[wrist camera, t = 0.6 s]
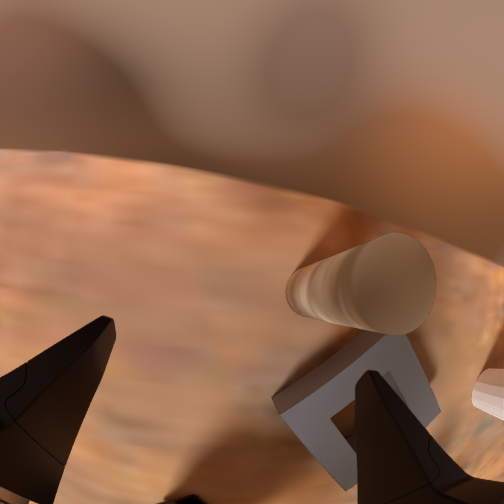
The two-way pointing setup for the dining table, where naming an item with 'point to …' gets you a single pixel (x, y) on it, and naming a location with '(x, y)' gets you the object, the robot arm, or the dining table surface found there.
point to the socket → (352, 397)
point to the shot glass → (490, 392)
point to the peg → (368, 286)
